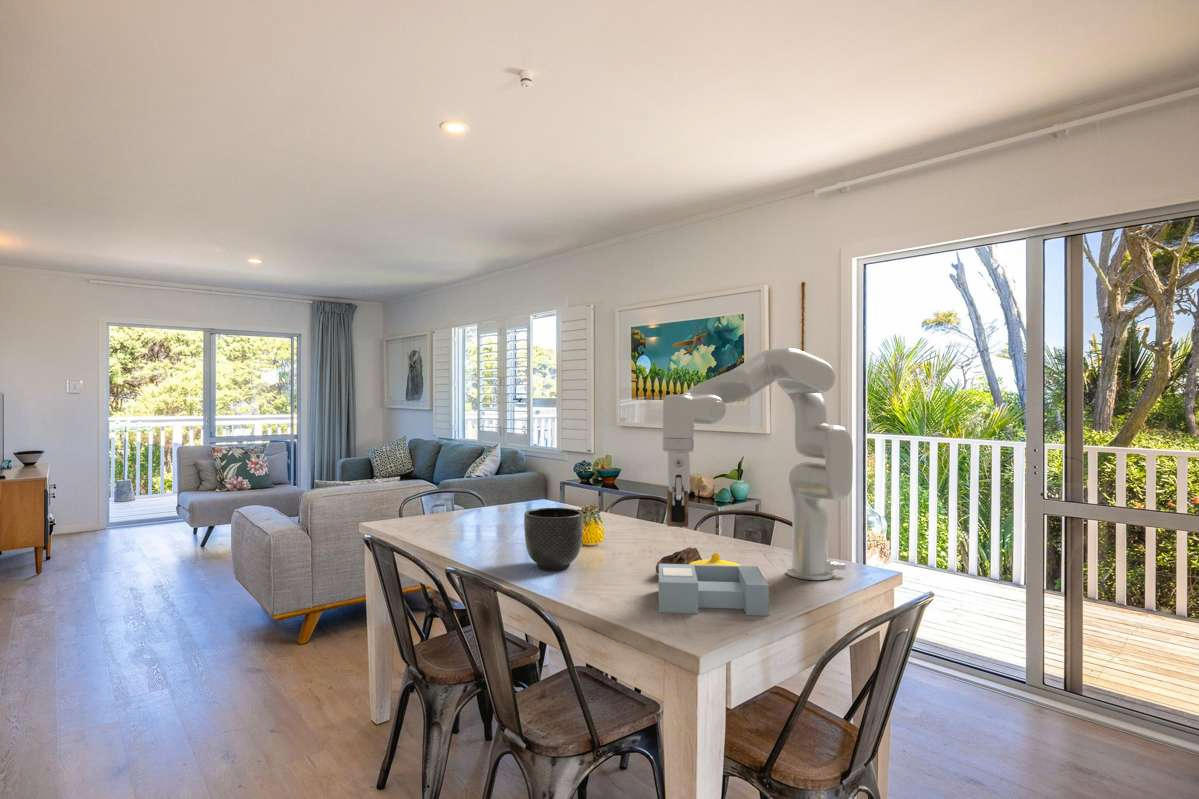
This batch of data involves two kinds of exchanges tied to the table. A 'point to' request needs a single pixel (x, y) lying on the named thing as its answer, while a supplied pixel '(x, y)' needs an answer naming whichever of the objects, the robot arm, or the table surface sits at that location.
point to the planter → (553, 536)
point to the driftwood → (680, 557)
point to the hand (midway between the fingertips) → (677, 518)
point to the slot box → (712, 588)
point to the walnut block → (669, 503)
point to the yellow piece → (714, 561)
